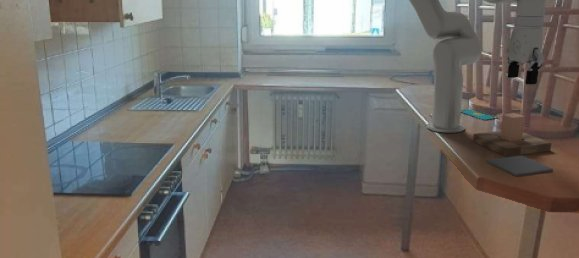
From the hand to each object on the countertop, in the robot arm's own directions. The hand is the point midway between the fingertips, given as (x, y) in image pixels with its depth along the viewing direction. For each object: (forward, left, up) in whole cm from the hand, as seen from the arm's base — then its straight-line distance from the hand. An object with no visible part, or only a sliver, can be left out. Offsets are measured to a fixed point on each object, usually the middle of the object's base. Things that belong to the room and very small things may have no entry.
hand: (521, 80), depth 148 cm
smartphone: (-39, +15, -22) cm, 48 cm away
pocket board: (-3, +1, -22) cm, 22 cm away
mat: (+13, -9, -22) cm, 26 cm away
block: (-3, +1, -22) cm, 22 cm away
